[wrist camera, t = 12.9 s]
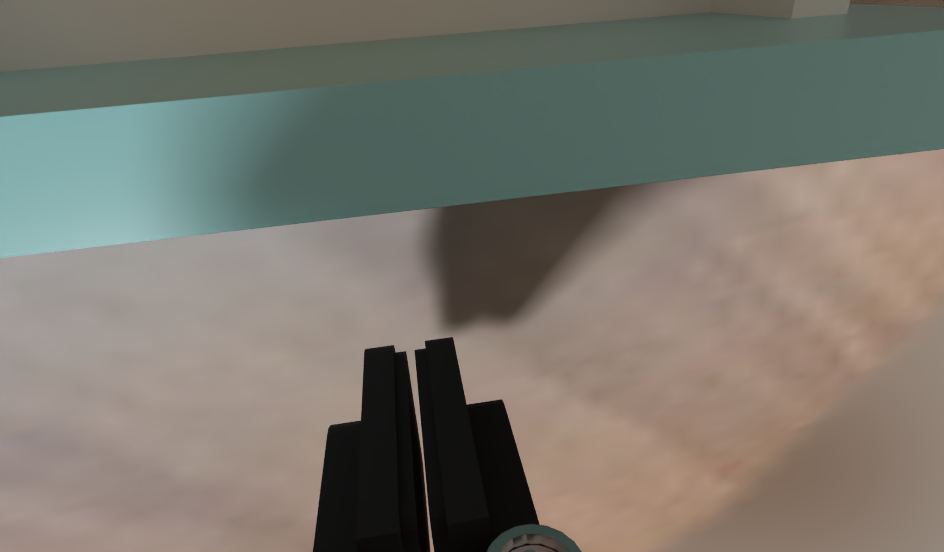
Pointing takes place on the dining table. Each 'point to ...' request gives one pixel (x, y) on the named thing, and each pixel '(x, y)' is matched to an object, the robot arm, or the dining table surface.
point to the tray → (428, 104)
